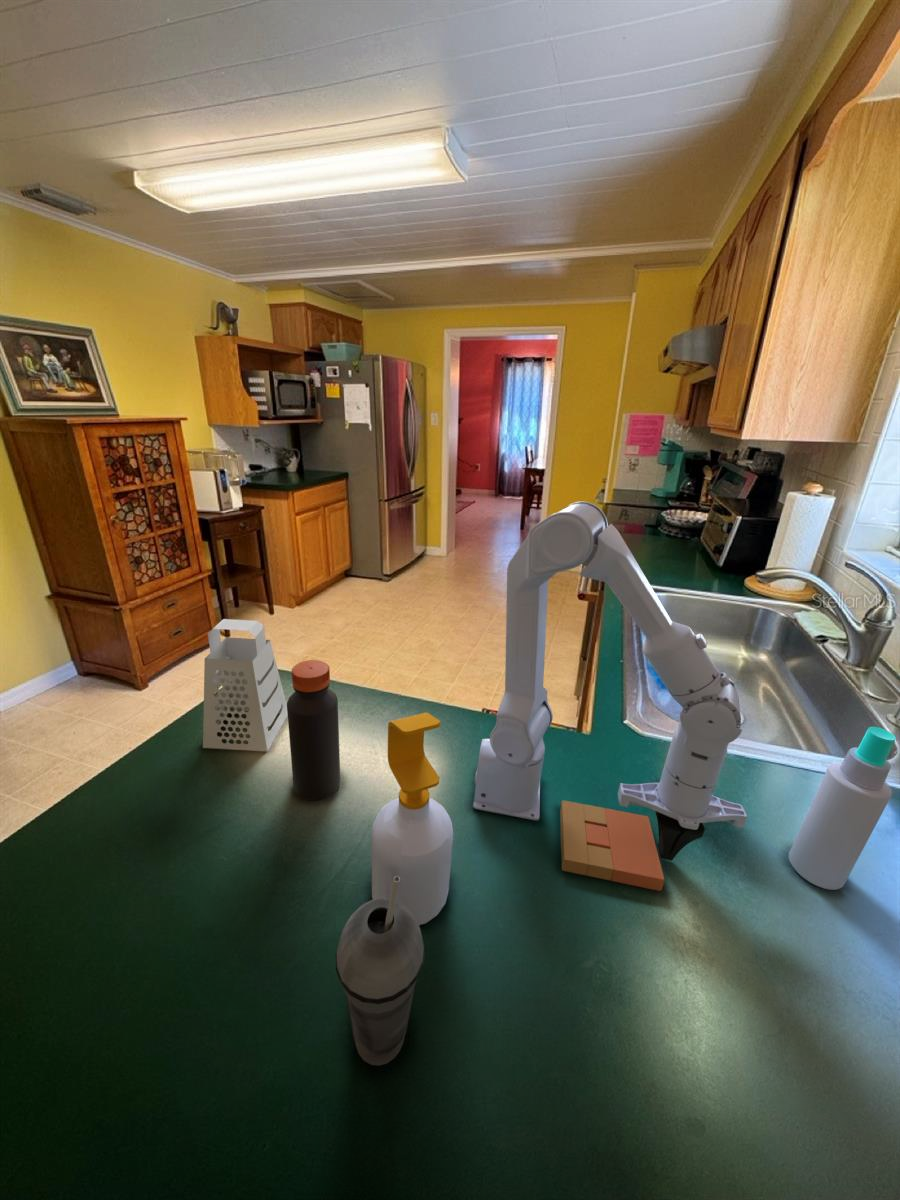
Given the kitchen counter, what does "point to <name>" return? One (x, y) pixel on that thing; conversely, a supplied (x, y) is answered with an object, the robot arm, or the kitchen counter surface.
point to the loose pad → (629, 848)
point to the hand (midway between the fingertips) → (664, 853)
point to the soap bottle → (412, 826)
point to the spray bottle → (844, 812)
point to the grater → (242, 688)
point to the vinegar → (313, 731)
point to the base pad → (583, 841)
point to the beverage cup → (380, 974)
